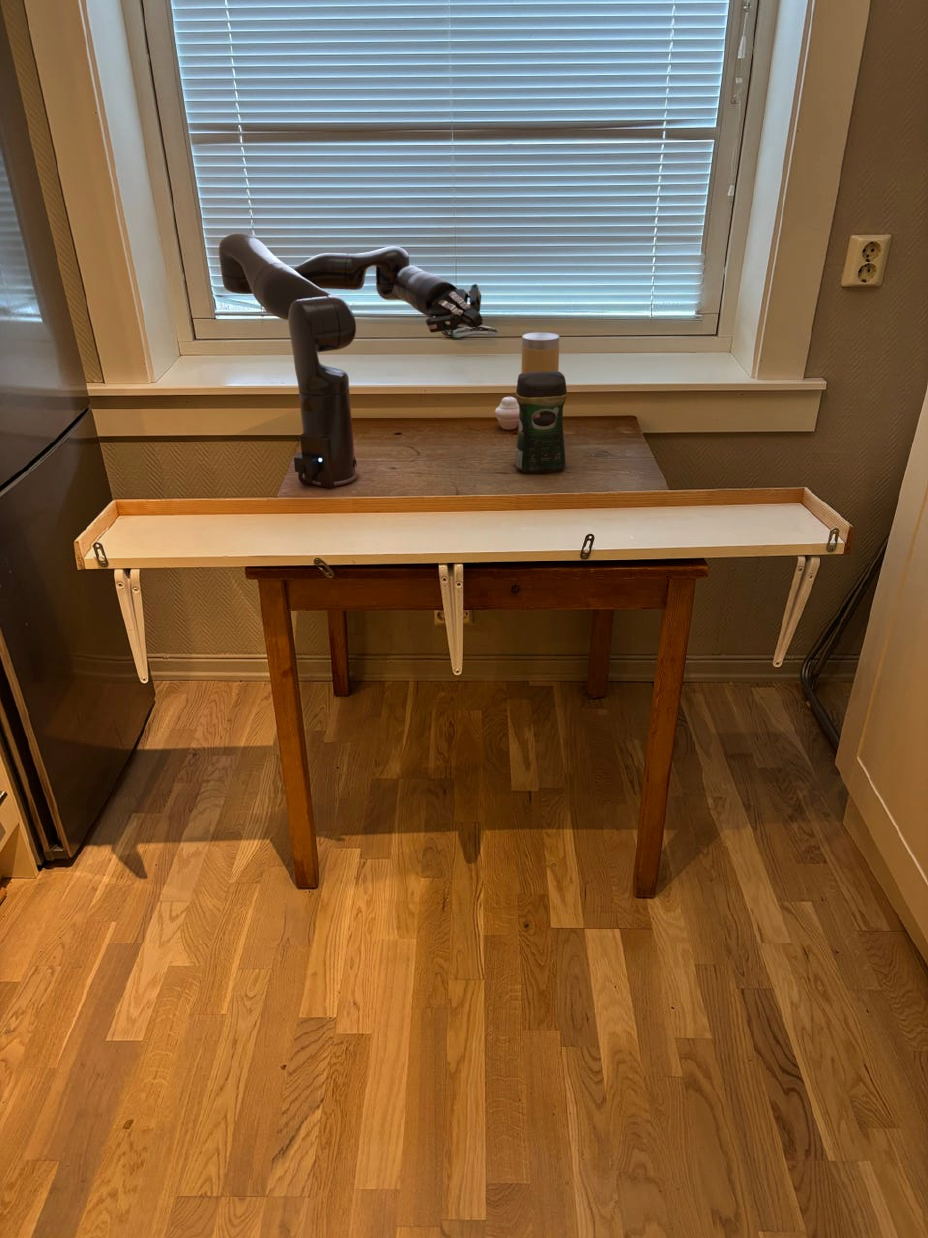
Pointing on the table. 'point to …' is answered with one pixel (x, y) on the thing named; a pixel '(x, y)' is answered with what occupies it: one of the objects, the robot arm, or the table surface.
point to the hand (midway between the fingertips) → (478, 321)
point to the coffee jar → (540, 422)
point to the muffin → (508, 413)
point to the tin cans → (540, 352)
